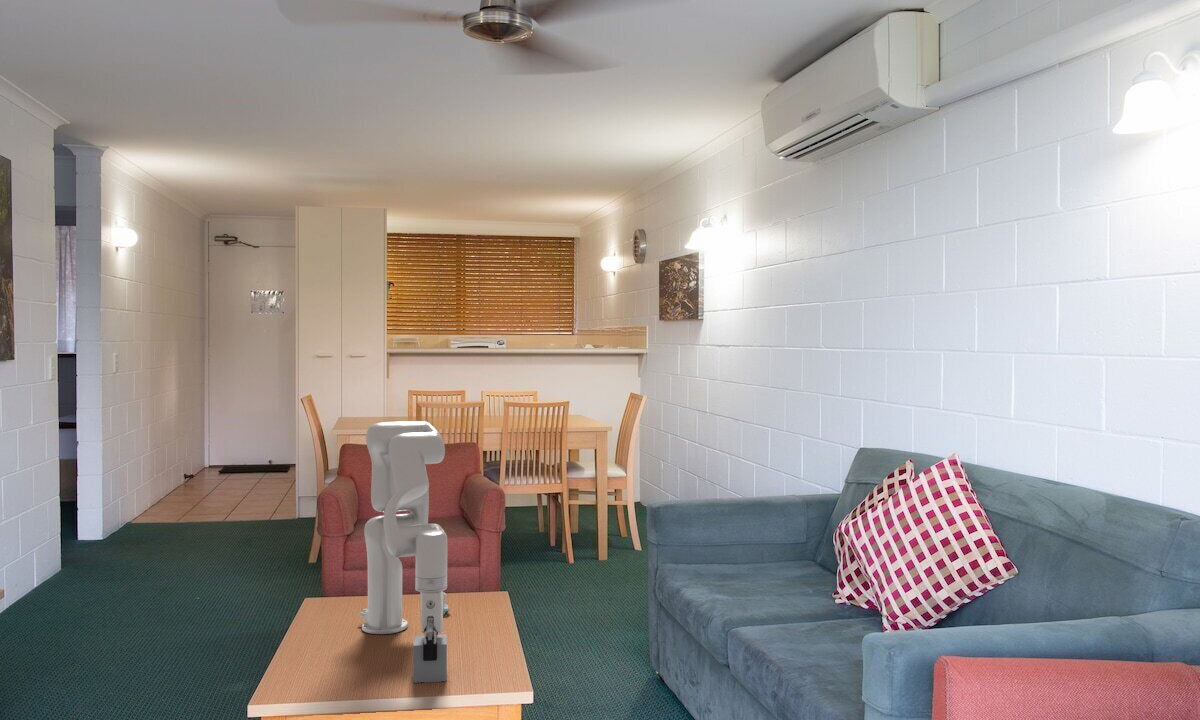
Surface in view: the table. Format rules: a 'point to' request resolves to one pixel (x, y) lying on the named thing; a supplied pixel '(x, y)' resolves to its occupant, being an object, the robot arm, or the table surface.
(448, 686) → the table surface
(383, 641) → the table surface
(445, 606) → the pacifier
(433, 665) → the gray foam cube
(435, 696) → the table surface
